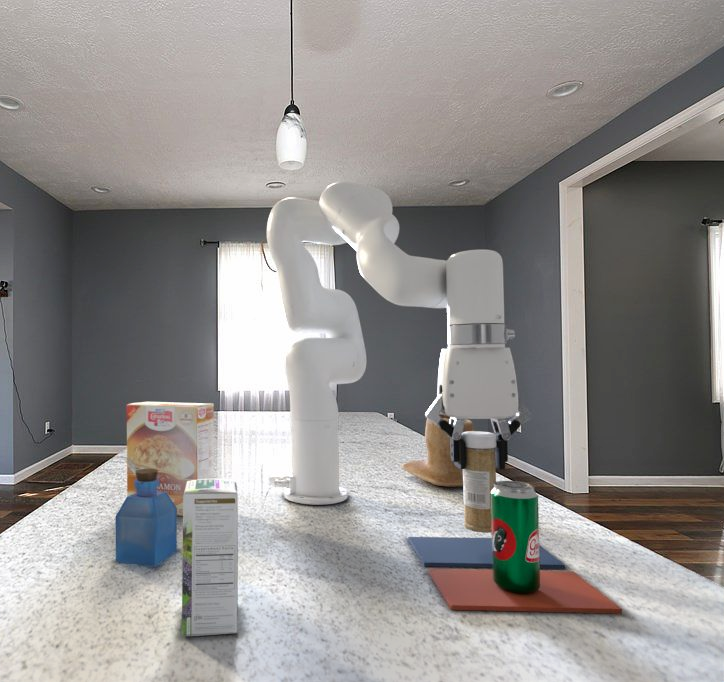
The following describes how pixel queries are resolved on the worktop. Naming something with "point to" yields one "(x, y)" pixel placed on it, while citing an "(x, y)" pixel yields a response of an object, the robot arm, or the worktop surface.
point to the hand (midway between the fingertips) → (479, 465)
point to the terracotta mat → (552, 596)
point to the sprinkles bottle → (479, 479)
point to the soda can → (515, 537)
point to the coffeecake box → (170, 445)
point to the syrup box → (210, 557)
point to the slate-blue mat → (465, 552)
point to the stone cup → (438, 457)
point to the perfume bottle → (146, 523)
